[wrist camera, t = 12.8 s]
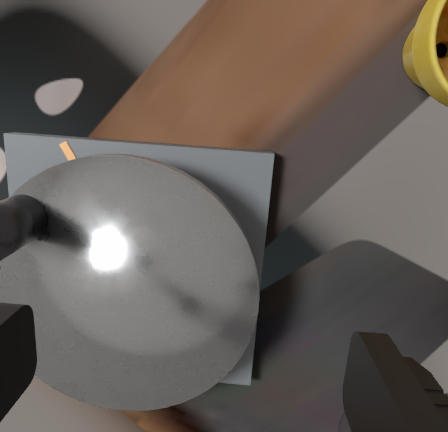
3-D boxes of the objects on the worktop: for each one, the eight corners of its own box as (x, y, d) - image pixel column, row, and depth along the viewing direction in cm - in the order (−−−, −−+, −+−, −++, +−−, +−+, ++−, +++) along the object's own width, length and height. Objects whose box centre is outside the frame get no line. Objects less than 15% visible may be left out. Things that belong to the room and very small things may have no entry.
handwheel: (212, 115, 31) (203, 117, 24) (288, 370, 37) (299, 433, 30) (-55, 198, 34) (-135, 222, 27) (56, 421, 40) (15, 489, 33)
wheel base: (249, 373, 45) (251, 412, 39) (32, 354, 45) (2, 389, 40) (272, 151, 38) (278, 158, 32) (15, 132, 38) (-25, 136, 32)
